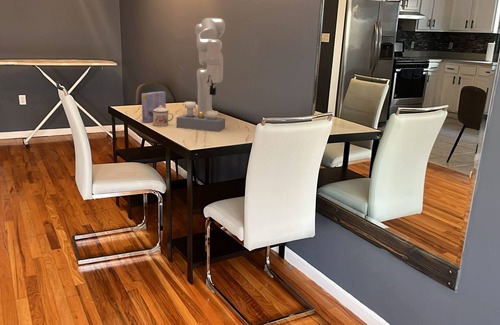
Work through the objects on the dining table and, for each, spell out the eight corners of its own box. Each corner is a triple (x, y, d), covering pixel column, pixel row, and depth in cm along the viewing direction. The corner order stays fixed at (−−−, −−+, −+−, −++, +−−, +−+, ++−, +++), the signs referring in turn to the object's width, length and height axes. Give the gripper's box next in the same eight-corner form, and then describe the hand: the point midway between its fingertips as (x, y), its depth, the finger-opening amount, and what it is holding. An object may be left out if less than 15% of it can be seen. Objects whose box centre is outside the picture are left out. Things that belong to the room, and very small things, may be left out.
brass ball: (199, 117, 272) (199, 111, 271) (205, 117, 271) (205, 111, 270) (197, 117, 269) (197, 112, 268) (202, 118, 268) (202, 112, 267)
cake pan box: (161, 117, 297) (160, 90, 292) (167, 118, 295) (167, 91, 290) (141, 122, 280) (140, 93, 275) (147, 123, 278) (147, 94, 273)
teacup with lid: (153, 126, 269) (153, 106, 266) (152, 123, 278) (152, 104, 275) (174, 126, 273) (174, 106, 269) (172, 123, 281) (172, 104, 278)
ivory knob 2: (209, 125, 273) (209, 110, 271) (219, 126, 272) (219, 111, 269) (204, 127, 268) (205, 111, 265) (215, 128, 266) (215, 112, 263)
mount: (185, 123, 281) (185, 114, 279) (225, 128, 274) (225, 118, 272) (176, 127, 270) (176, 117, 268) (218, 131, 263) (218, 121, 261)
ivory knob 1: (187, 116, 276) (187, 101, 274) (197, 117, 274) (197, 102, 272) (182, 117, 270) (182, 102, 268) (192, 118, 268) (193, 103, 266)
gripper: (211, 61, 268) (211, 92, 273) (202, 62, 254) (201, 96, 259) (224, 62, 266) (223, 93, 271) (214, 63, 252) (214, 97, 257)
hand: (212, 94), depth 265 cm, fingers closed
